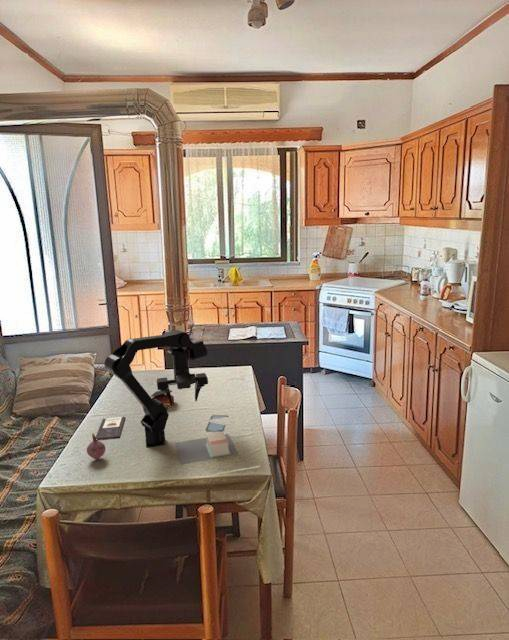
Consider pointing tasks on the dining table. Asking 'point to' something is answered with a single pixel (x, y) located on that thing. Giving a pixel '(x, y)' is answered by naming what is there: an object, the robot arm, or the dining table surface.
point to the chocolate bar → (110, 428)
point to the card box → (217, 444)
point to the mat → (200, 450)
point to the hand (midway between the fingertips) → (183, 402)
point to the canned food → (163, 398)
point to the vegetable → (96, 448)
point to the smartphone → (215, 424)
